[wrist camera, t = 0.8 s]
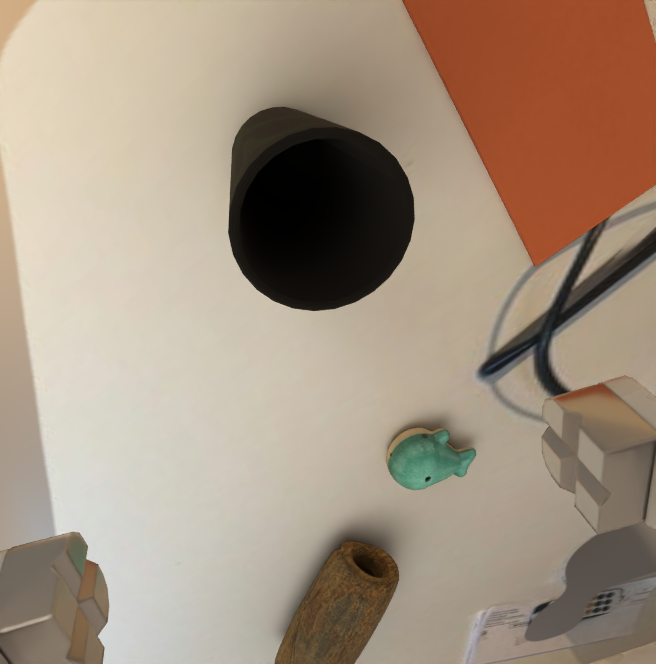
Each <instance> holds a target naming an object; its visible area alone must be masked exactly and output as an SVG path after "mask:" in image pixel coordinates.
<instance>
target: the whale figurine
mask: <svg viewBox="0 0 656 664" xmlns="http://www.w3.org/2000/svg"><path fill="white" fill-rule="evenodd" d="M449 436H450V433H449V431H448V430H447V429H445V428H439V429H437V430H435V431H429V430H427V429H424V428H413V429H409V430H407V431H405V432H403V433H401V434H400V435H399V436H397V437H396V438H395V440H394V441H393V442H392V444H391V445H390V447H389V449H388V452H387V456H386V463H387V467H388V470H389V472H390V474H391V475H392V477H393V478H394V480H395V481H396V482H397V483H399V484H400V485H402V486H403V487H405V488H408V489H411V490H420V489H424V488H427V487H429V486H431V485H433V484H435V483H437V482H440V481H442V480H444V479H446V478H448V477H449V476H451V475H452V474H454V475H456V476H458V477H463V476H465V474H466V472H467V469H468V467H469V465H470V464H471V462H472V461H473V459H474V458H475V456H476V451H475V449H474V448H472V447H466V448H461V449H458V450H456V449H454V448H453V447H451V446H450V445H449V444H448V443H446V442H447V441H448V439H449Z"/></svg>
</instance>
